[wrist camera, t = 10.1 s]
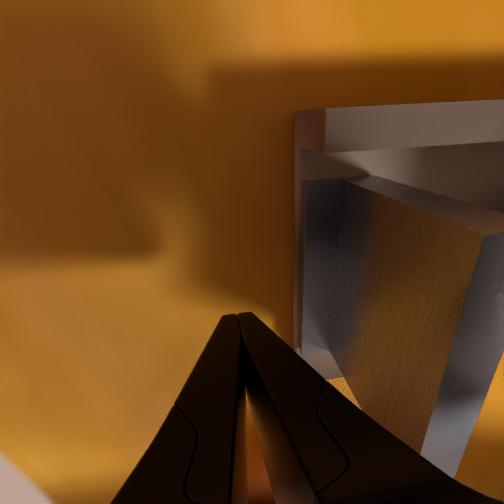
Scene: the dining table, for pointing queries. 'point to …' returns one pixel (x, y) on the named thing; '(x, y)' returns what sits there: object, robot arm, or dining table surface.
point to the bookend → (405, 305)
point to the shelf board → (398, 162)
